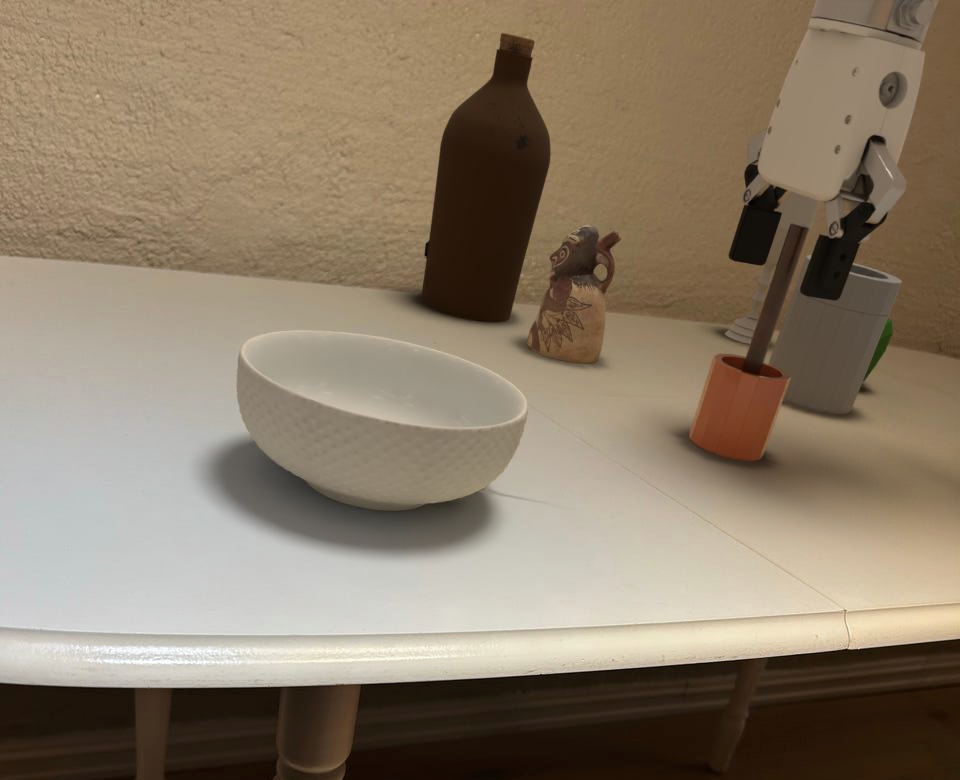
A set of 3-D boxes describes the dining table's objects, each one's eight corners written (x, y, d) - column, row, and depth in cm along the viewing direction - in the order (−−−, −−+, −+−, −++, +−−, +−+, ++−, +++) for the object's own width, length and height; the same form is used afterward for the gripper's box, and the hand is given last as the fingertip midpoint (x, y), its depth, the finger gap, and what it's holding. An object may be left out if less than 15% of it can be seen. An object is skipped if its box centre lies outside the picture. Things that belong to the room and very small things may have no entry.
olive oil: (534, 321, 110) (594, 54, 97) (477, 330, 101) (536, 40, 89) (453, 291, 114) (502, 32, 102) (393, 298, 106) (438, 17, 93)
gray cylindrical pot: (836, 397, 108) (885, 270, 102) (859, 425, 100) (914, 288, 94) (752, 379, 108) (797, 249, 101) (769, 405, 100) (819, 266, 93)
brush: (738, 443, 85) (813, 226, 77) (743, 454, 83) (821, 231, 74) (707, 436, 85) (779, 218, 76) (712, 447, 83) (786, 223, 74)
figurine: (537, 338, 103) (566, 212, 98) (604, 359, 102) (638, 231, 96) (515, 351, 97) (545, 217, 91) (587, 373, 96) (622, 238, 90)
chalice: (711, 337, 122) (763, 172, 113) (717, 327, 127) (767, 169, 118) (772, 354, 120) (829, 189, 111) (776, 343, 126) (831, 185, 117)
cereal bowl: (559, 522, 64) (588, 413, 61) (346, 571, 53) (367, 440, 50) (385, 421, 74) (402, 321, 70) (173, 444, 62) (180, 327, 59)
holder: (752, 446, 87) (781, 364, 83) (766, 472, 82) (798, 386, 78) (682, 431, 87) (709, 348, 83) (692, 456, 81) (721, 369, 78)
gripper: (1006, 40, 64) (893, 319, 72) (838, 20, 77) (759, 257, 86) (912, 11, 61) (806, 305, 69) (754, -4, 74) (682, 244, 83)
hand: (780, 279), depth 77 cm, fingers open, 9 cm apart
